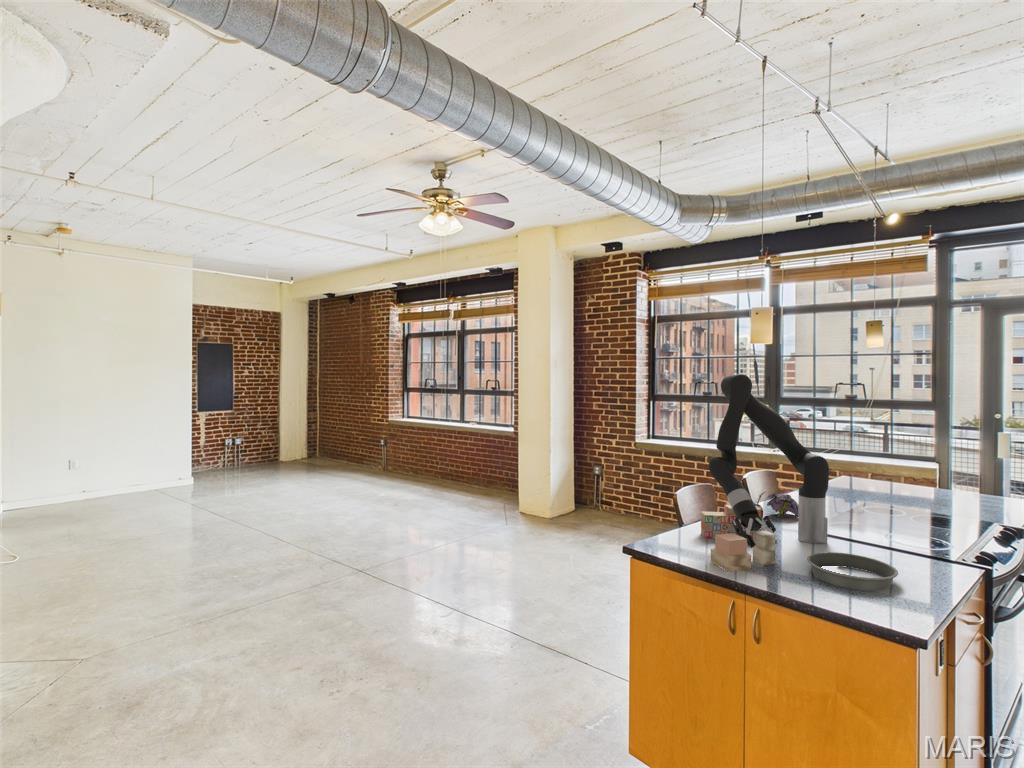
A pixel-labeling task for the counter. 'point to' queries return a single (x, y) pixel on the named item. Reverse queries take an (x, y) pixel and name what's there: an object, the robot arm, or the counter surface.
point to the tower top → (731, 544)
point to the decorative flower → (783, 504)
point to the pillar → (764, 547)
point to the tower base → (731, 561)
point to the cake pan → (855, 562)
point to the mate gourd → (760, 505)
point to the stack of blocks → (720, 522)
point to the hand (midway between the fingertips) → (764, 545)
